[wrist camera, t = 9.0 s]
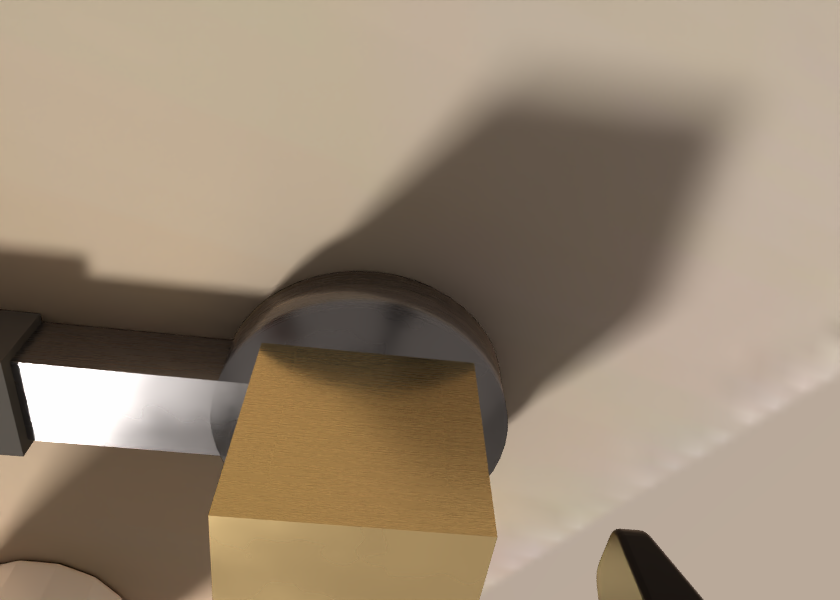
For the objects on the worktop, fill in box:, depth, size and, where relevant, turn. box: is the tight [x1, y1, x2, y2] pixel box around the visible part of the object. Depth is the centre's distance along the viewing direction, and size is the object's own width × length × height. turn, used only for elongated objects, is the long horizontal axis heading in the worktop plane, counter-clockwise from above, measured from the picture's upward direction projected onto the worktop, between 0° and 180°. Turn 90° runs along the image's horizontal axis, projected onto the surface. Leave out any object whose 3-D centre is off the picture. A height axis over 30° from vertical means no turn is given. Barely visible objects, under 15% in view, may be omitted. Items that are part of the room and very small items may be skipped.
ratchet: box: [0, 271, 508, 476], centre depth 19 cm, size 26×9×6 cm, turn 82°
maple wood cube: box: [208, 343, 497, 600], centre depth 18 cm, size 6×6×6 cm
